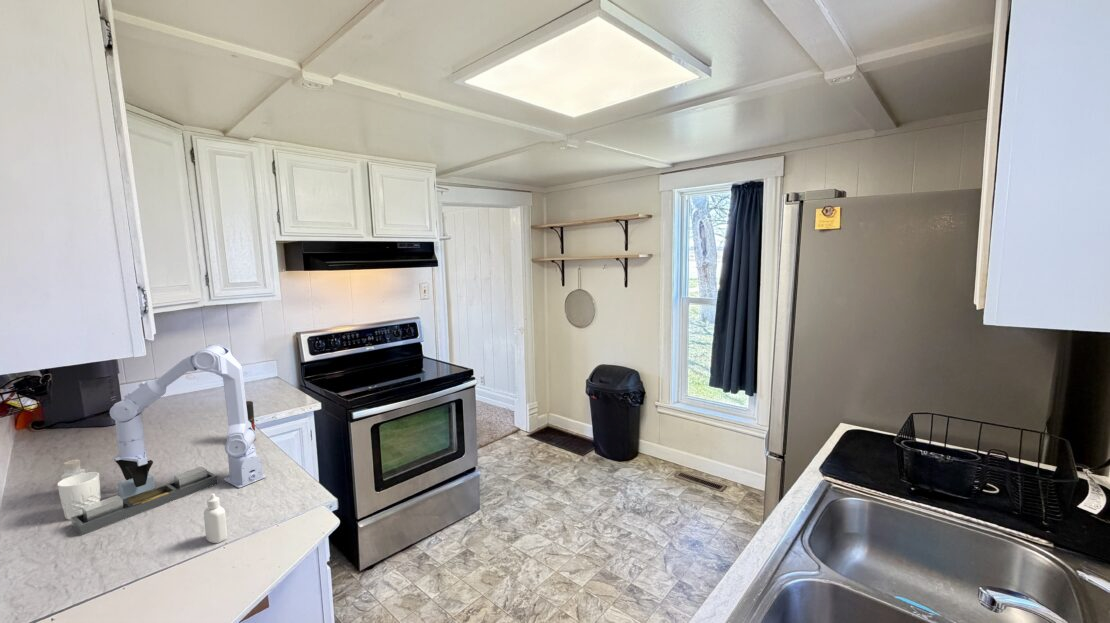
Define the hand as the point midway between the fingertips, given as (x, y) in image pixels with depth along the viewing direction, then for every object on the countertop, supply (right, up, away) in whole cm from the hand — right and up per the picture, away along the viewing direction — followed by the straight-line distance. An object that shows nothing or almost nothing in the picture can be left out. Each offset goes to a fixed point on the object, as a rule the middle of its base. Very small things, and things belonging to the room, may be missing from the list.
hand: (135, 482), depth 133 cm
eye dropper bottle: (+39, -7, -20) cm, 44 cm away
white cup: (-6, -5, -9) cm, 12 cm away
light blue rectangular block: (0, -4, 0) cm, 4 cm away
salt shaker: (-19, -4, +1) cm, 20 cm away
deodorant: (+7, +1, +38) cm, 39 cm away
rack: (+9, -4, -4) cm, 11 cm away
